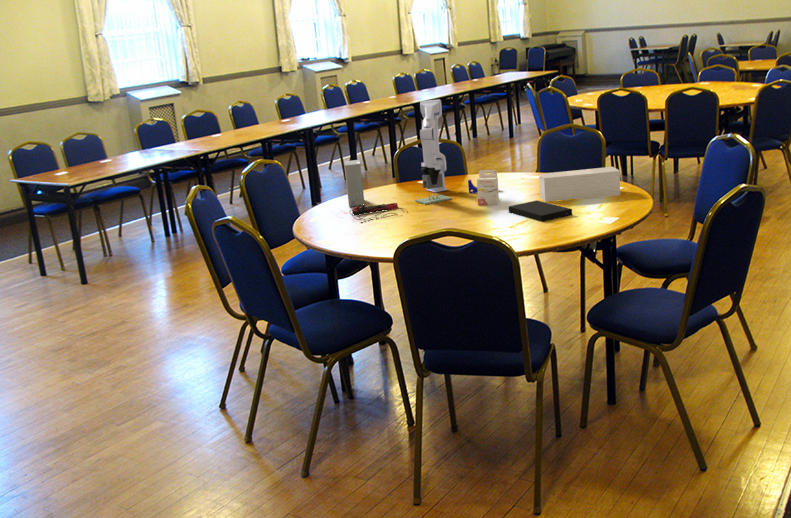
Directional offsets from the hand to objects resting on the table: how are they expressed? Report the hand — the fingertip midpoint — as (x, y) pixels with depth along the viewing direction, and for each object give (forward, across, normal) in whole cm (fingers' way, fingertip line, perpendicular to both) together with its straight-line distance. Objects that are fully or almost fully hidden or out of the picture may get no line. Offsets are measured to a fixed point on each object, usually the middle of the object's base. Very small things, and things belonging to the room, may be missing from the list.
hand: (431, 183), depth 332 cm
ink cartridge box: (+8, +27, +13) cm, 31 cm away
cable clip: (+8, +1, +26) cm, 27 cm away
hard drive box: (+8, -26, -28) cm, 39 cm away
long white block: (+8, +46, +48) cm, 67 cm away
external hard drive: (+9, +59, +17) cm, 62 cm away
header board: (+8, 0, 0) cm, 8 cm away
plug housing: (+2, 0, 0) cm, 2 cm away
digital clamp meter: (+9, +5, -31) cm, 33 cm away
